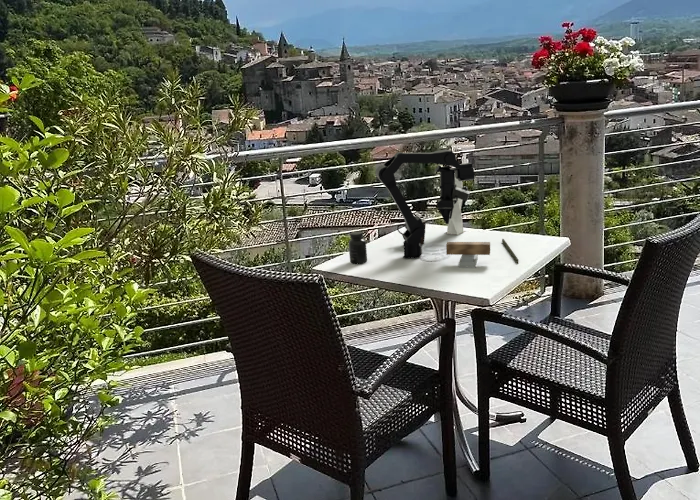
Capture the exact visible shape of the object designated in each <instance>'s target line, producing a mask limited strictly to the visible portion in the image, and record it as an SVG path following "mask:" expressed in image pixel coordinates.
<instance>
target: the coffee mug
mask: <svg viewBox="0 0 700 500" xmlns="http://www.w3.org/2000/svg"><path fill="white" fill-rule="evenodd" d="M421 220H422V223H423V225H424V226H425V227H424V228H425V229H426V224H427V220H426V219H425V218H421ZM400 226H403V227H404V228H405V230H407V227H406V224H404V223H400V224H398V225H397V227H396V229H397V230H396V231H397V232H398V234H401V235H403V233H404V232H403V233H402V232H401V231H400V230H399V228H400ZM425 236H426V234H425V235H424V236H423V237H422V238H421V242H420V244H422V246H424V244H425V239H426V238H425Z"/></svg>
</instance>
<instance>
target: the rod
mask: <svg viewBox="0 0 700 500" xmlns="http://www.w3.org/2000/svg"><path fill="white" fill-rule="evenodd" d="M502 242H503V243H502ZM501 243H502V244H503V246H504V248H505V249H506V248H507V249H506V251H508V253H509V254H510V255H511V258H513V260H514V261H515V262H516V264H519V259H518V256H517V255H516V254H515V253H514V251H513V250H512V249H511V247H510V246H509V245H508V242H507V241H506V240H505V239H504V238H502V239H501Z"/></svg>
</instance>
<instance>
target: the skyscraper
mask: <svg viewBox="0 0 700 500" xmlns="http://www.w3.org/2000/svg"><path fill="white" fill-rule="evenodd" d="M455 184H456V188H461V189H462V188H463V187H464V186H463V181H458V179H456V178H455ZM454 200H456V198H455V199H454ZM462 205H463V200H462V199H459V198H458V201H457V202H456V203H455V204H454V208H453V212H452V218H451V219H449V224H447V230H446V232H444V233H443V234H444V235H445V234H446V235H454V236H459V235H461V234H464V233H465V232H467V231H466V230H464V223H463V215H462V210H461V209H462Z"/></svg>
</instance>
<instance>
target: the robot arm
mask: <svg viewBox="0 0 700 500" xmlns="http://www.w3.org/2000/svg"><path fill="white" fill-rule="evenodd" d="M456 158H457V157H456V153H454V152H453V151H452V150H449V149H446V148H445V149H440V150H436V151H435V150H434V151H432V152H401V151H398V152H395V154H394V155H393V156H392V157H391V158H389V159H388V160H387V161H386V162H384V164H383V165H379V166H377V168H376V170H375V175H376V177H377V179H378V180H379V181H380V182H381V184H382V185H383V186H384V187H385V188H386V189H387V190H388V193H389V195H390V196H391V198H392V200H393V202H394V203H395V205H396V206H397V208H398V210H399V212H400V213H401V215H402V217H403V220H404V223H405V224H404V225H406V227H407V229H405V231H404V232H403V235H402V234H401V235H402V236H401V237H402V238H403V240H404V241H403V242H402V243H403V257H402V259H420V258H421V256H422V255H423V245H422V244H420V242H421V238H422V237H423V236H424V235H425V236H426V226H424V225H423V223H422V220H421V219H422V218H421V217H420V216H419V215H416V216H415V215H414V214H413V212H412V210H411V208H410V207H409V204H408V203H407V201H406V199H405V198H404V196H403V194H402V192H401V190H400V188H399V187H398V185H397V180H396V177H395V174H396V172H398V170H399V169H400V168H401V166H402V165H403V164H427V163H428V164H429V163H430V164H436V165H437V166H436V168H434V172H436V173H439V183H440V184H439V190H440V195H439V200H438V201H437V204H436V206H437V207H436V208H437V210H438V211H439V214H440V215H441V217H442V219H443V221H444V223H445V225H448V224H449V219H451V218H452V212H453V208H454V204H455V203H456V202H457V201H458V198H459V199H462V202H468V199H469V196H470V193H471V191H469V189H468V186H463V188H462V189H461V188H456V184H455V178H456V179H458V181H462V182H465V181H473V180H475V175H476V172H475V169H474V165H473V163H472V162H466V163H460V162H459V161H458V160H457V159H456ZM450 167H452V168H450ZM455 198H456V200H454V199H455ZM424 227H425V228H424Z"/></svg>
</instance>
